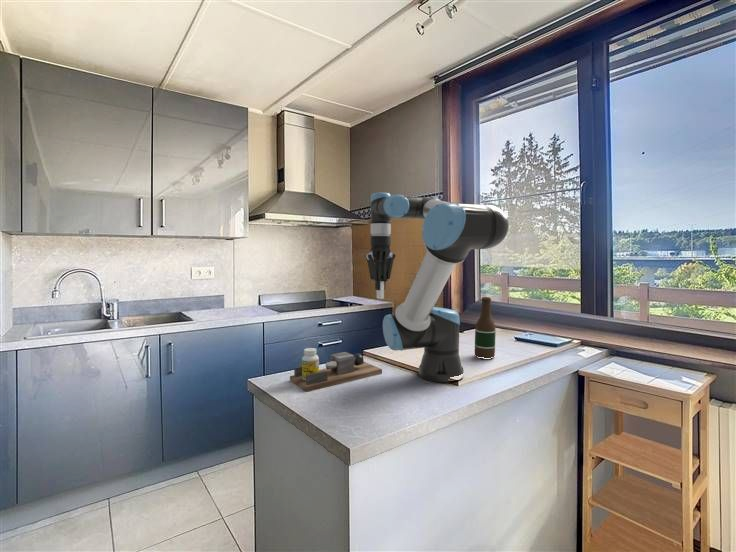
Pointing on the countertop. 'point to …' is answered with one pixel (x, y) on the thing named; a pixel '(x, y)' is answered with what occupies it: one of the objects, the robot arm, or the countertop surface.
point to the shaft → (357, 361)
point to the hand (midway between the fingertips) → (380, 298)
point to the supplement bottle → (309, 362)
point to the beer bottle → (485, 331)
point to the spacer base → (334, 373)
